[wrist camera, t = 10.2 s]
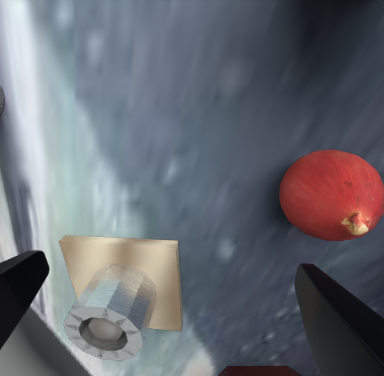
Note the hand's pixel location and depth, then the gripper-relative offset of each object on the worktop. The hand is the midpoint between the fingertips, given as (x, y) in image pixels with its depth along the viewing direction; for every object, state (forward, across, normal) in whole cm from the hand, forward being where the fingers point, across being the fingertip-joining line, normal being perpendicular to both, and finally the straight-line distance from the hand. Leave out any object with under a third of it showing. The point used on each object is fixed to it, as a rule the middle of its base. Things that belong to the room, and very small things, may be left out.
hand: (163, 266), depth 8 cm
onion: (+12, -9, +1) cm, 15 cm away
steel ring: (+11, +8, +14) cm, 19 cm away
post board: (+12, +8, +14) cm, 20 cm away
